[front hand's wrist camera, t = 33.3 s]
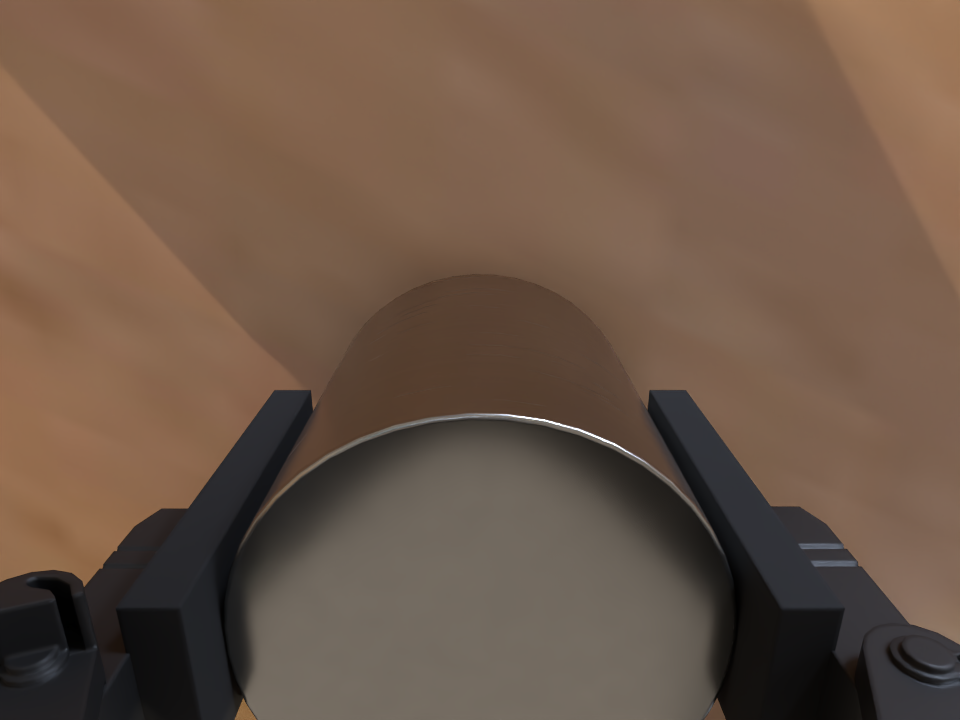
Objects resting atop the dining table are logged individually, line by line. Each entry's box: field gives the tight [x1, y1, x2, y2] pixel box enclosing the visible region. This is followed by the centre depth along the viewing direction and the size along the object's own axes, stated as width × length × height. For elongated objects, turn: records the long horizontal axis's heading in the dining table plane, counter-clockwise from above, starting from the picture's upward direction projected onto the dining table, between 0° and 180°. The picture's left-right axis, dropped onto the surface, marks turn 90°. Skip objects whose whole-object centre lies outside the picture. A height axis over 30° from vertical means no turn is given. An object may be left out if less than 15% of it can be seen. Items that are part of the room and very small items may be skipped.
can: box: [223, 274, 737, 720], centre depth 13 cm, size 7×7×7 cm
